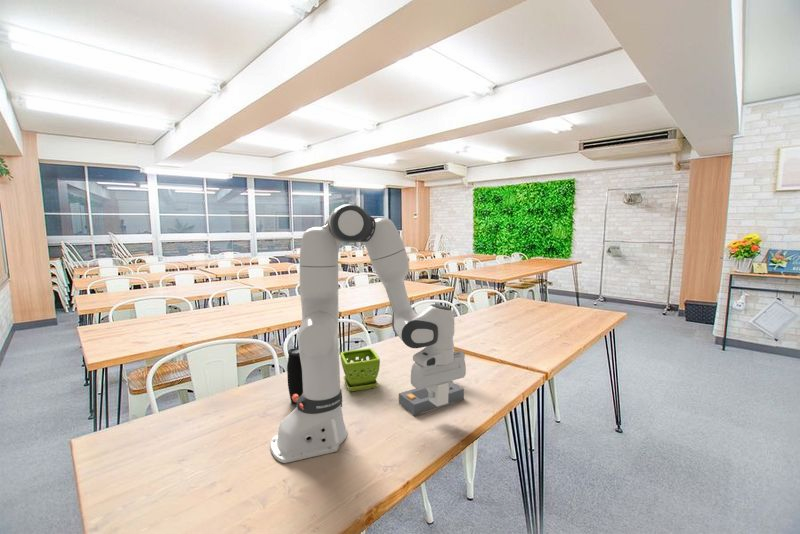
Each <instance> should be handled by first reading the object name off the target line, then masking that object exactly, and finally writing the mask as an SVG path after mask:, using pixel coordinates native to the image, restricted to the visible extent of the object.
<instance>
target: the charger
mask: <svg viewBox="0 0 800 534" xmlns="http://www.w3.org/2000/svg"><path fill="white" fill-rule="evenodd" d="M431 390H432V391H433V392H435V397H434V398H429V401H430V402H431V403H433V404H434V405H436V406H437V407H438V406H441V405H445V404H448V392H449V383H448V382H445V383H441V384H437V385H433V388H432V389H431ZM448 405H449V404H448ZM445 406H446V405H445Z"/></svg>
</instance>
